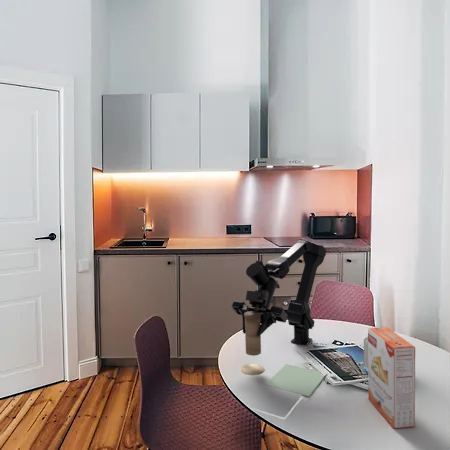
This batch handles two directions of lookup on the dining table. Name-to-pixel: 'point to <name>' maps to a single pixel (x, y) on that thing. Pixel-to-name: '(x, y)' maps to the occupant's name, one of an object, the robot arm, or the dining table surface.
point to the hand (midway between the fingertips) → (250, 334)
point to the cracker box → (391, 376)
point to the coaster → (252, 369)
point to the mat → (296, 380)
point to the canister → (252, 333)
